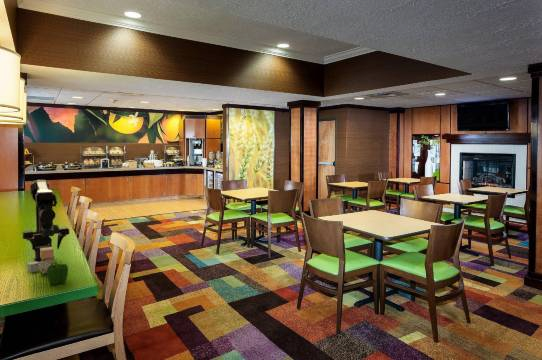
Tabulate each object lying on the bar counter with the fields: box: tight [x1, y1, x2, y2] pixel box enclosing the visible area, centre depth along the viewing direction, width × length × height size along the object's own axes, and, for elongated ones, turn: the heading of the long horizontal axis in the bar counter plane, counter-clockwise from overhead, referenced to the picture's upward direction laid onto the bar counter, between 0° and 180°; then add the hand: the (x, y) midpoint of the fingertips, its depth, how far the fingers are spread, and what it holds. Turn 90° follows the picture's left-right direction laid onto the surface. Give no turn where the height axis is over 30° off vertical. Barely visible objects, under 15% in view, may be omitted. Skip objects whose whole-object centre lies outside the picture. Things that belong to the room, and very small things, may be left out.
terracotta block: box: [40, 246, 55, 259], centre depth 181 cm, size 5×5×4 cm
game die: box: [36, 256, 56, 275], centre depth 181 cm, size 9×8×10 cm
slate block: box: [26, 261, 41, 273], centre depth 185 cm, size 4×4×4 cm
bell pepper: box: [46, 261, 69, 286], centre depth 169 cm, size 8×8×10 cm
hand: (46, 250), depth 181 cm, fingers open, 9 cm apart
